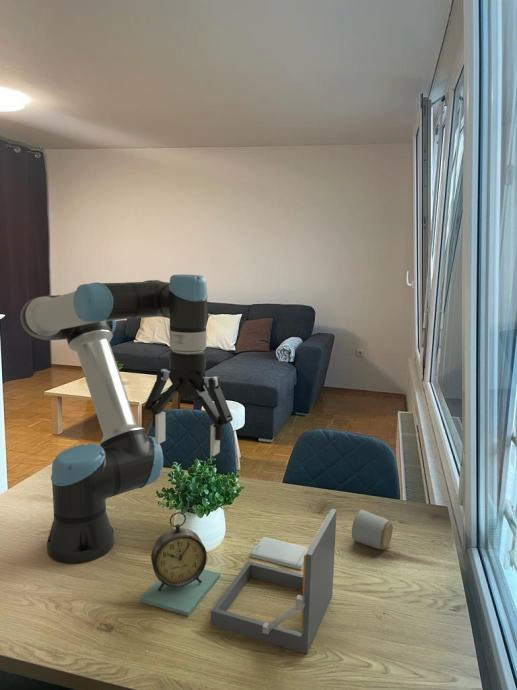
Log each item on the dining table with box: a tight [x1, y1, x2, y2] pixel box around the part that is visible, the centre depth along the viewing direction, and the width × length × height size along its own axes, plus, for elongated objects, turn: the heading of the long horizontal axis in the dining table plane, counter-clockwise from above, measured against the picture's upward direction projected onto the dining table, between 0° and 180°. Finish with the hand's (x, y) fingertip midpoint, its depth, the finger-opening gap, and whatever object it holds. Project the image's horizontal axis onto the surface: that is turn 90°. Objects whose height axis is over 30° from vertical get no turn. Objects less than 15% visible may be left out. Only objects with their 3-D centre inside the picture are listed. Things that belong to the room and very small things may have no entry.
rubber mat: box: [139, 568, 221, 617], centre depth 113 cm, size 11×14×1 cm
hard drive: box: [250, 536, 309, 571], centre depth 127 cm, size 2×8×12 cm
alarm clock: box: [150, 511, 208, 591], centre depth 112 cm, size 11×5×16 cm, turn 109°
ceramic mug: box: [351, 509, 394, 550], centre depth 133 cm, size 11×8×8 cm
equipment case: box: [210, 508, 338, 655], centre depth 105 cm, size 19×19×19 cm
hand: (187, 448), depth 116 cm, fingers open, 13 cm apart
